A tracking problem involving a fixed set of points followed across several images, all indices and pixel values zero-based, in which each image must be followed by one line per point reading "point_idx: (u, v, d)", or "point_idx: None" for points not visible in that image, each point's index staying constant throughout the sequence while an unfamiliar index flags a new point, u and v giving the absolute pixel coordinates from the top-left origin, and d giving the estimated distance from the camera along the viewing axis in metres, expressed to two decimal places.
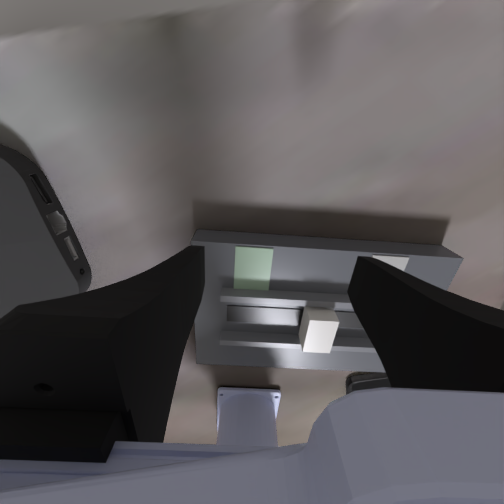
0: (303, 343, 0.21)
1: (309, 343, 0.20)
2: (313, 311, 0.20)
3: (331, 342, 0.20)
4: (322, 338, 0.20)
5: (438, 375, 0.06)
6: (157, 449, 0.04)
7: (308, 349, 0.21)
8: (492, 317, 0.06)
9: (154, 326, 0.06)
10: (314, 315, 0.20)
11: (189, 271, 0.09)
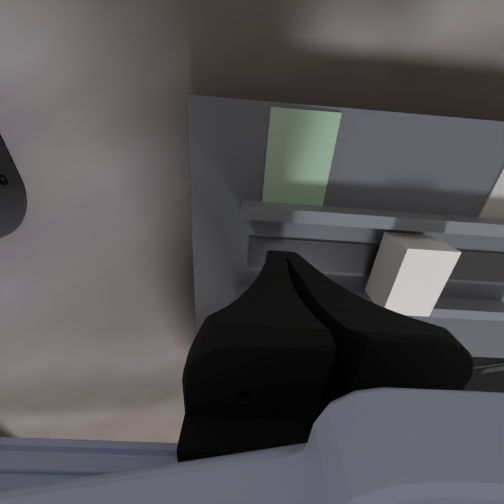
0: (384, 298, 0.12)
1: (397, 296, 0.11)
2: (405, 239, 0.11)
3: (436, 295, 0.11)
4: (423, 286, 0.11)
5: None
6: (157, 449, 0.04)
7: (393, 309, 0.12)
8: (346, 309, 0.06)
9: None
10: (411, 243, 0.11)
11: None
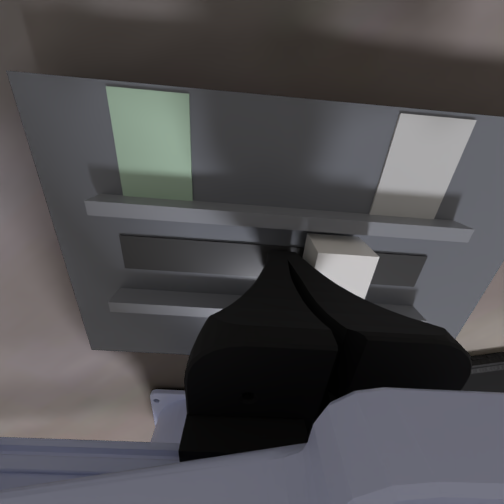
0: None
1: None
2: (324, 242, 0.10)
3: None
4: None
5: None
6: (157, 449, 0.04)
7: None
8: (345, 310, 0.06)
9: None
10: (326, 247, 0.10)
11: None
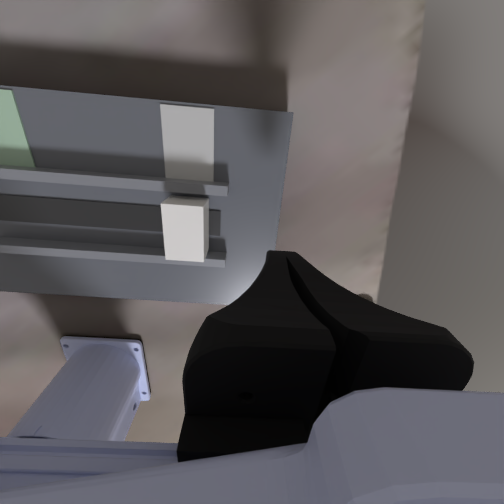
0: None
1: (170, 244, 0.15)
2: (175, 199, 0.15)
3: (201, 243, 0.15)
4: (187, 236, 0.14)
5: None
6: (157, 449, 0.04)
7: (172, 255, 0.15)
8: (346, 310, 0.06)
9: None
10: (172, 201, 0.14)
11: None
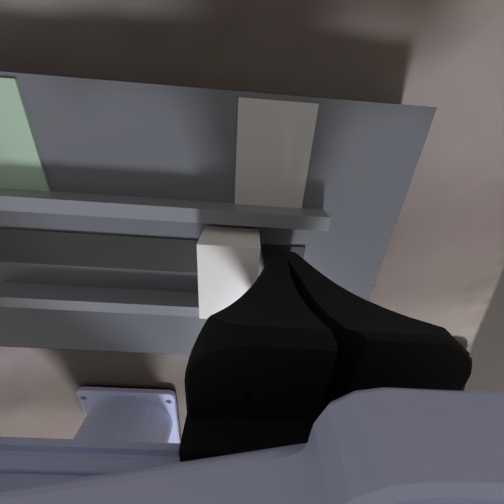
0: None
1: (208, 299, 0.10)
2: (215, 234, 0.10)
3: None
4: (232, 287, 0.10)
5: None
6: (157, 449, 0.04)
7: (209, 313, 0.10)
8: (345, 309, 0.06)
9: None
10: (212, 238, 0.10)
11: None
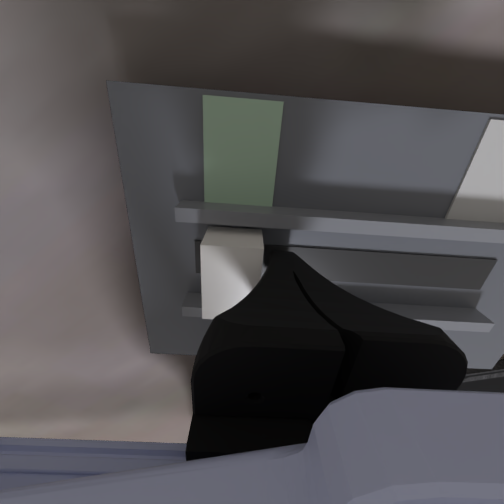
0: None
1: (211, 299, 0.10)
2: (218, 234, 0.10)
3: None
4: (235, 288, 0.10)
5: None
6: (157, 449, 0.04)
7: (212, 313, 0.10)
8: (342, 309, 0.06)
9: None
10: (216, 239, 0.10)
11: None
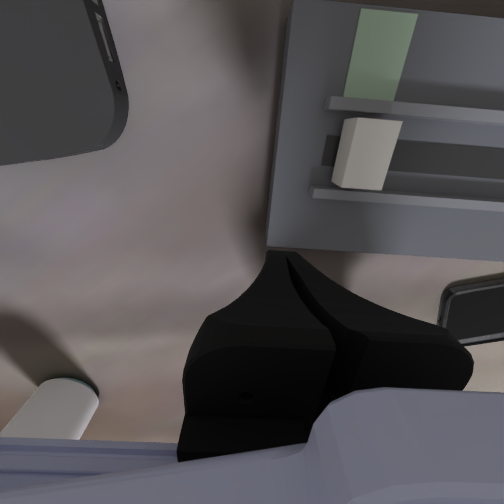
0: (343, 173, 0.14)
1: (353, 168, 0.14)
2: None
3: (386, 167, 0.14)
4: (373, 157, 0.13)
5: None
6: (157, 449, 0.04)
7: (350, 182, 0.14)
8: (347, 309, 0.06)
9: None
10: None
11: None
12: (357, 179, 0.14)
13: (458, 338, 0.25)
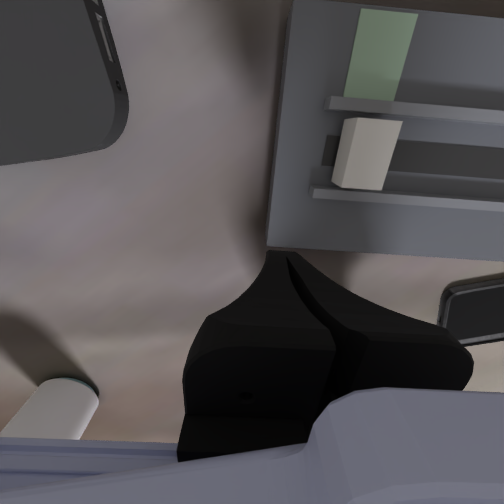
0: (343, 173, 0.14)
1: (353, 168, 0.14)
2: None
3: (386, 167, 0.14)
4: (373, 157, 0.13)
5: None
6: (157, 449, 0.04)
7: (350, 182, 0.14)
8: (346, 310, 0.06)
9: None
10: None
11: None
12: (357, 179, 0.14)
13: (458, 338, 0.25)
